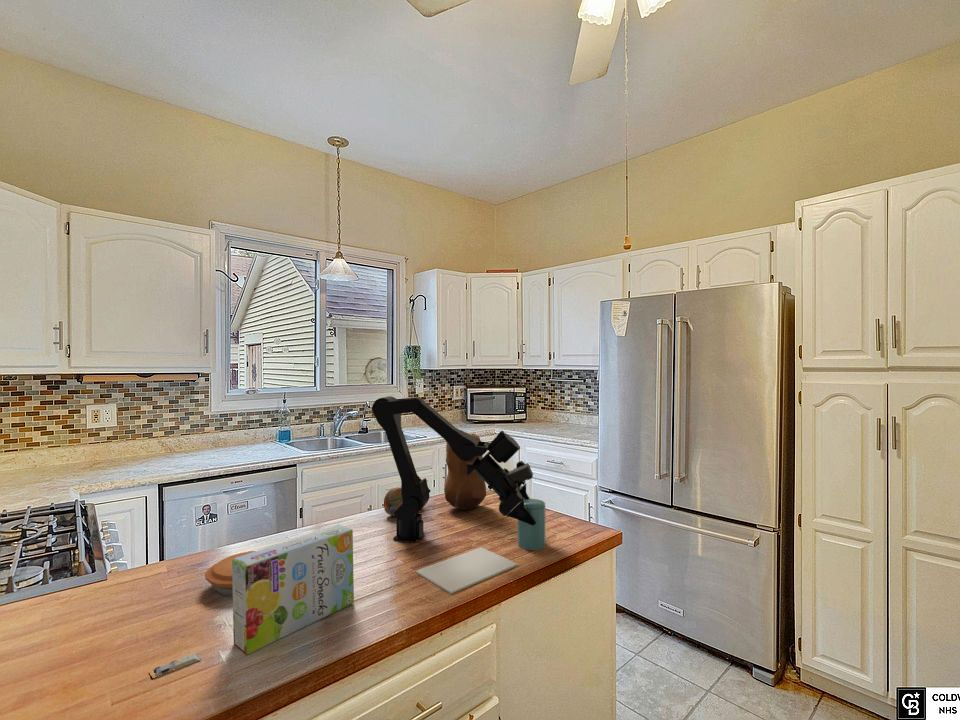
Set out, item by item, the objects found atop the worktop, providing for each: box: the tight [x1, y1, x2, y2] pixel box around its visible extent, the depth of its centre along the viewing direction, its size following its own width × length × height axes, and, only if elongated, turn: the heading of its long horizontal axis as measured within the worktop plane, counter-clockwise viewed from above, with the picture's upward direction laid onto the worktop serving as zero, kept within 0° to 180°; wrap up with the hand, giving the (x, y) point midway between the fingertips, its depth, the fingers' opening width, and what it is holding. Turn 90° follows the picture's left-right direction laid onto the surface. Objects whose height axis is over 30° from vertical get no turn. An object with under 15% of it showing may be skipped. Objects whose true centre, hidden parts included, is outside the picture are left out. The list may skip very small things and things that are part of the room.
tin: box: [383, 485, 403, 517], centre depth 149 cm, size 15×3×8 cm, turn 143°
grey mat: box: [415, 546, 519, 595], centre depth 109 cm, size 20×13×1 cm, turn 132°
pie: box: [204, 550, 256, 597], centre depth 102 cm, size 16×16×5 cm
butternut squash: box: [443, 432, 487, 511], centre depth 152 cm, size 14×13×25 cm
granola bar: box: [152, 653, 202, 677], centre depth 74 cm, size 7×2×1 cm, turn 133°
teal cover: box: [517, 498, 546, 551], centre depth 123 cm, size 7×7×11 cm
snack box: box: [232, 524, 355, 655], centre depth 87 cm, size 21×6×15 cm, turn 141°
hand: (535, 518), depth 123 cm, fingers open, 9 cm apart
